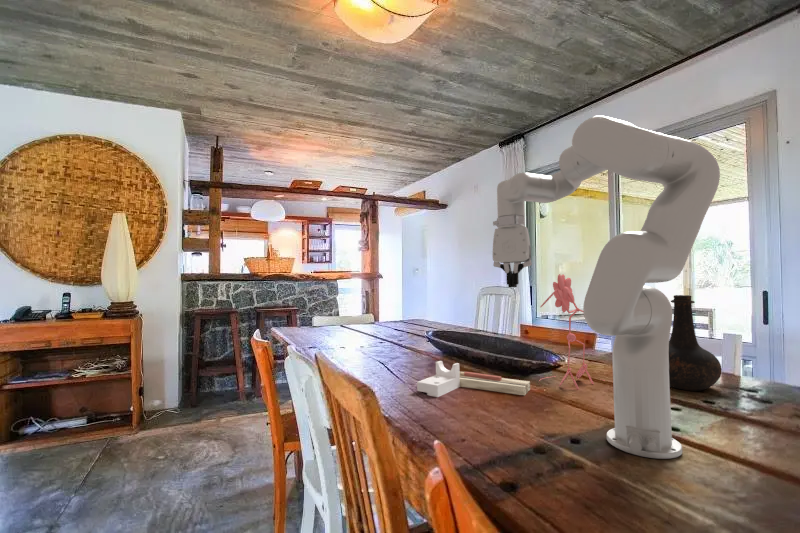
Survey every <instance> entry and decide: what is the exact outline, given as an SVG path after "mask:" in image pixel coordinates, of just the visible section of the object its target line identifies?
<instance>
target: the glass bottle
mask: <svg viewBox="0 0 800 533" xmlns="http://www.w3.org/2000/svg"><path fill="white" fill-rule="evenodd" d="M670 303H671V304H673V318H672V327H671V328H672V330H671V333H670V337H669V383H670V387H671V388H674V389H679V390H683V391H691V392H692V391H695V392H696V391H697V392H698V391H704V390H707V389H709V388H711V387H712V386H714V385H715V384H716V383H717V382H718V381H719V380H720V378H721V377H722V370H723V369H722V364H721V362H720V360H719V359H718V358H717V356H715V355H714V354H713V353H712V352H710V351H708V350H706V349H704V348H703V347H701V345H700V344H699V343H698V340H697V335H696V332H695V326H694V325H695V324H694V318H693V317H694V316H693V306H692V304H695V303H696V301H694V300H692V296H691V295H688V294H685V295H683V294H675V295H673V299H671V300H670Z"/></svg>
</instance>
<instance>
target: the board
mask: <svg viewBox="0 0 800 533" xmlns="http://www.w3.org/2000/svg"><path fill="white" fill-rule="evenodd" d="M461 387H462V388H469V389H476V390H484V391H490V392H496V393H497V392H498V393H505V394H512V395H517V396H518V395H519V396H526V395H527V394H528V392H530V390H531V381H530V380H521V379H520V380H519V379H512V378H504V377H502V380H501V381H497V380H491V379H484V378H477V377H470V376H464V375H461V374H460V388H461Z"/></svg>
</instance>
